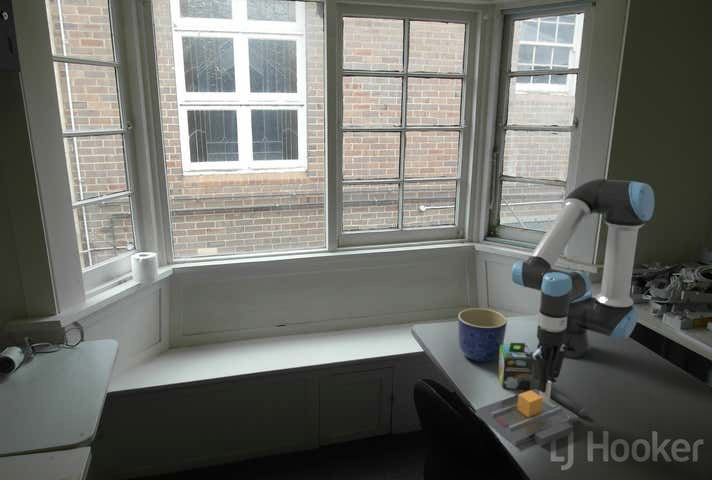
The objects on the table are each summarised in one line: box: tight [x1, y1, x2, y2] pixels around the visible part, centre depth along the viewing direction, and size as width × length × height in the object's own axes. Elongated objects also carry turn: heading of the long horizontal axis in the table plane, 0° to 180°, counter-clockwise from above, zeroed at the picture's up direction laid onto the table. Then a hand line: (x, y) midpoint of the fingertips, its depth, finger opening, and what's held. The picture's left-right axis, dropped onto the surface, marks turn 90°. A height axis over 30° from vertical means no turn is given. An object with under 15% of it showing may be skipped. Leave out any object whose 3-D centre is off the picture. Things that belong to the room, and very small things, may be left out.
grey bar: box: [533, 421, 574, 447], centre depth 132 cm, size 2×12×2 cm, turn 117°
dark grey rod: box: [550, 388, 588, 418], centre depth 146 cm, size 15×2×2 cm, turn 27°
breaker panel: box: [475, 388, 579, 447], centre depth 140 cm, size 16×24×2 cm, turn 117°
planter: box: [457, 307, 508, 363], centre depth 174 cm, size 17×17×15 cm
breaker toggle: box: [517, 389, 543, 418], centre depth 140 cm, size 4×5×5 cm
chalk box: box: [497, 342, 533, 391], centre depth 157 cm, size 9×9×15 cm
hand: (544, 400), depth 142 cm, fingers closed
